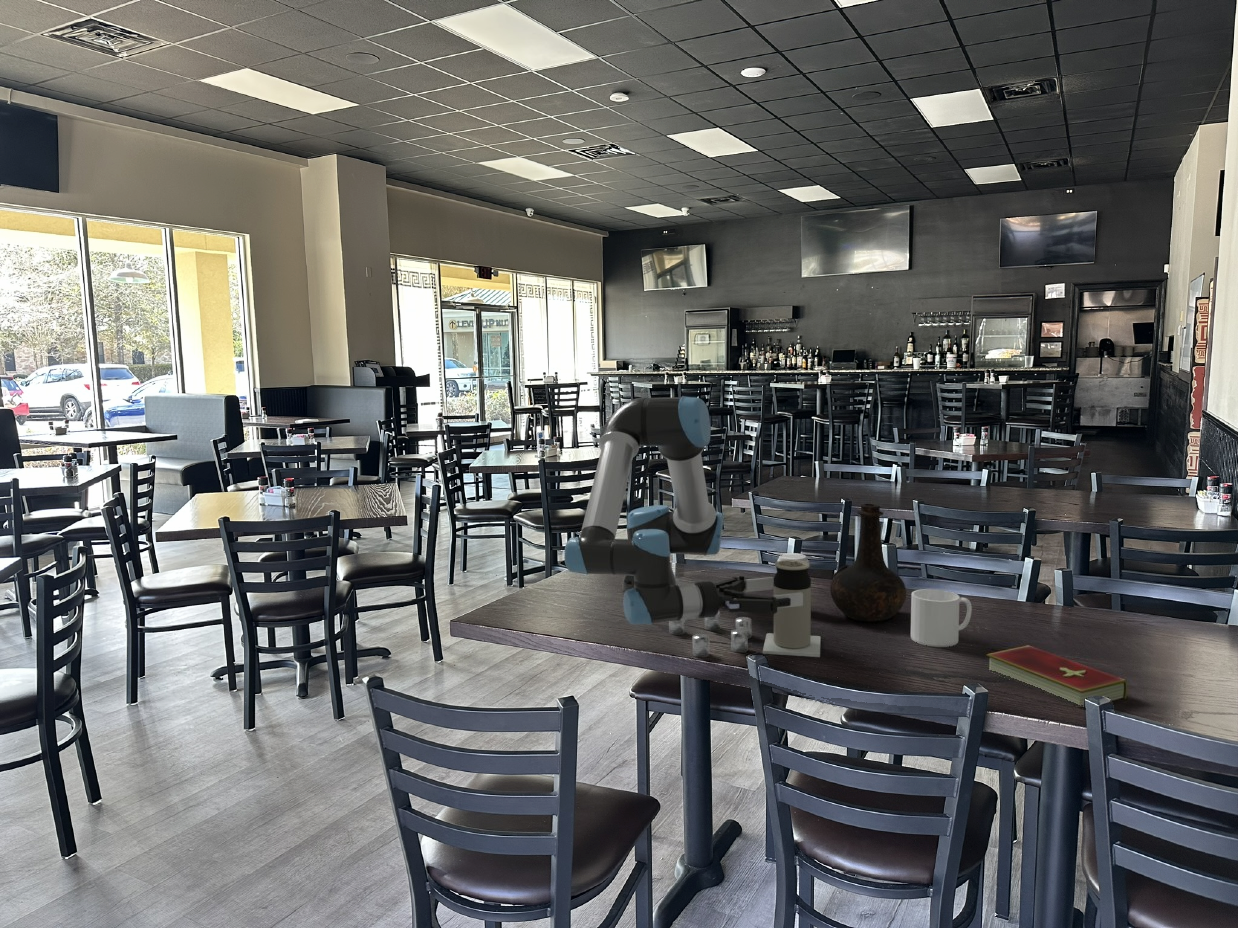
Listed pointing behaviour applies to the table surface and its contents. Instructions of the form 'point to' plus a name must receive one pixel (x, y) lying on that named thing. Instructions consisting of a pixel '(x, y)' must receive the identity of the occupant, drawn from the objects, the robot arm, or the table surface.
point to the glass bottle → (868, 576)
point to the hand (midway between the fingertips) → (786, 590)
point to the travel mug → (793, 621)
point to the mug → (937, 617)
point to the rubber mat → (773, 648)
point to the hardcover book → (1057, 674)
